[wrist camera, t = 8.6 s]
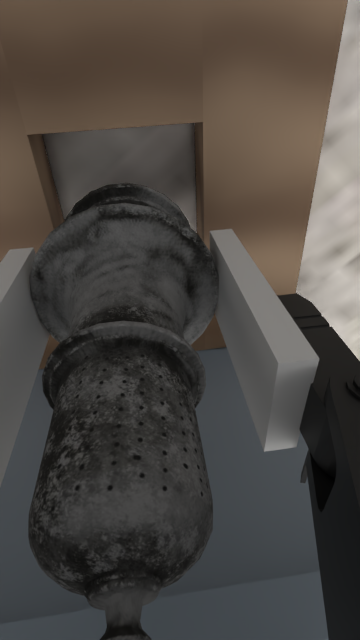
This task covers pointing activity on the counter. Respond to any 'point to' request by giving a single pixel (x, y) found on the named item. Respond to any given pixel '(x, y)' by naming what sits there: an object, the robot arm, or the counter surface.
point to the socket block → (175, 109)
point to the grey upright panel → (219, 554)
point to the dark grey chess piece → (122, 402)
